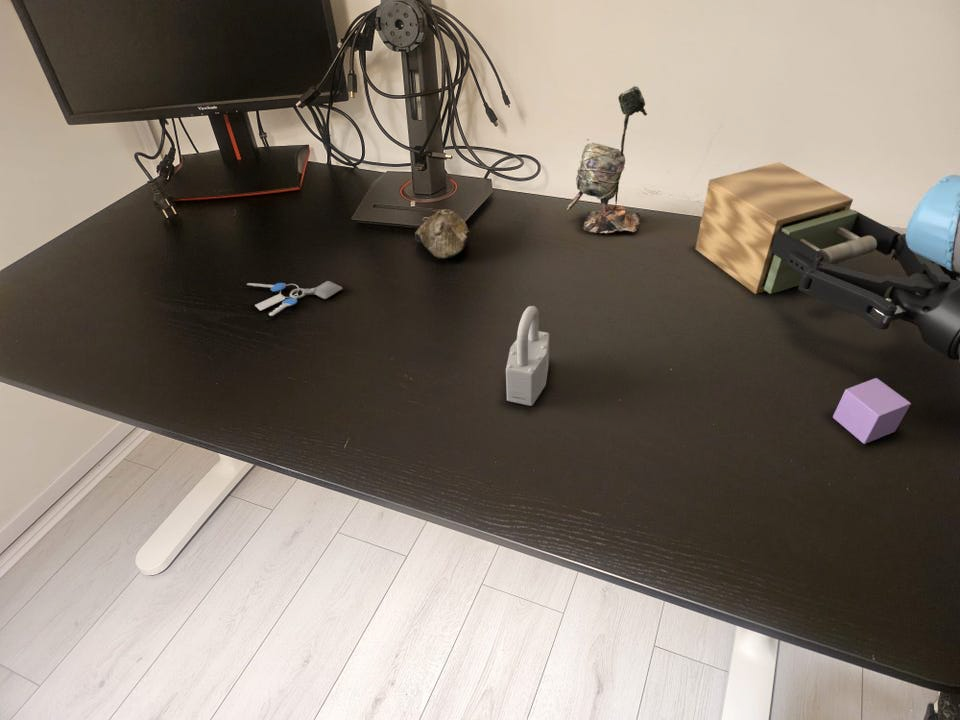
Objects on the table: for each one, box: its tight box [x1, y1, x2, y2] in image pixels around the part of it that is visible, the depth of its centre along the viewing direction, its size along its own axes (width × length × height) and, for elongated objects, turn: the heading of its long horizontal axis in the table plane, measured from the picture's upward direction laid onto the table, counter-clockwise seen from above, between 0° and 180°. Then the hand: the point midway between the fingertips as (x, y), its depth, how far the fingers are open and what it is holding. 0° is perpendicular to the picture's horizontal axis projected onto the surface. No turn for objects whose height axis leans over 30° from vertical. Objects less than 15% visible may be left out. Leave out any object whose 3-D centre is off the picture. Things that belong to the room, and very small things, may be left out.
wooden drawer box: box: [694, 161, 854, 295], centre depth 82 cm, size 13×12×11 cm
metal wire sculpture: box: [567, 85, 648, 234], centre depth 89 cm, size 8×11×20 cm
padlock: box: [505, 305, 550, 407], centre depth 66 cm, size 7×4×10 cm, turn 161°
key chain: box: [246, 280, 343, 317], centre depth 83 cm, size 14×8×1 cm, turn 88°
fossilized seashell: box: [414, 209, 471, 260], centre depth 91 cm, size 8×7×10 cm
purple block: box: [832, 377, 912, 445], centre depth 60 cm, size 4×4×4 cm
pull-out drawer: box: [764, 208, 877, 295], centre depth 78 cm, size 16×10×9 cm, turn 22°
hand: (812, 230), depth 75 cm, fingers closed on pull-out drawer, 10 cm apart
